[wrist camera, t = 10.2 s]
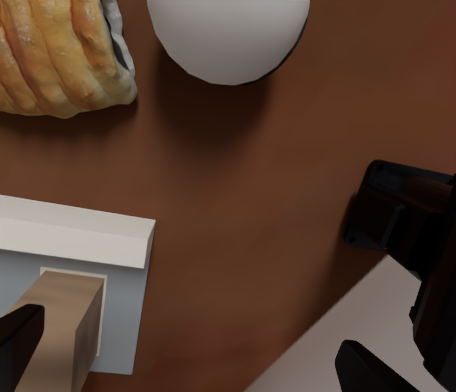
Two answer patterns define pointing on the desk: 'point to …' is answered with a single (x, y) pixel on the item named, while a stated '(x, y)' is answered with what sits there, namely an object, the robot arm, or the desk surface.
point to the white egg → (229, 36)
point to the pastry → (63, 57)
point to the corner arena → (80, 265)
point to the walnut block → (63, 331)
